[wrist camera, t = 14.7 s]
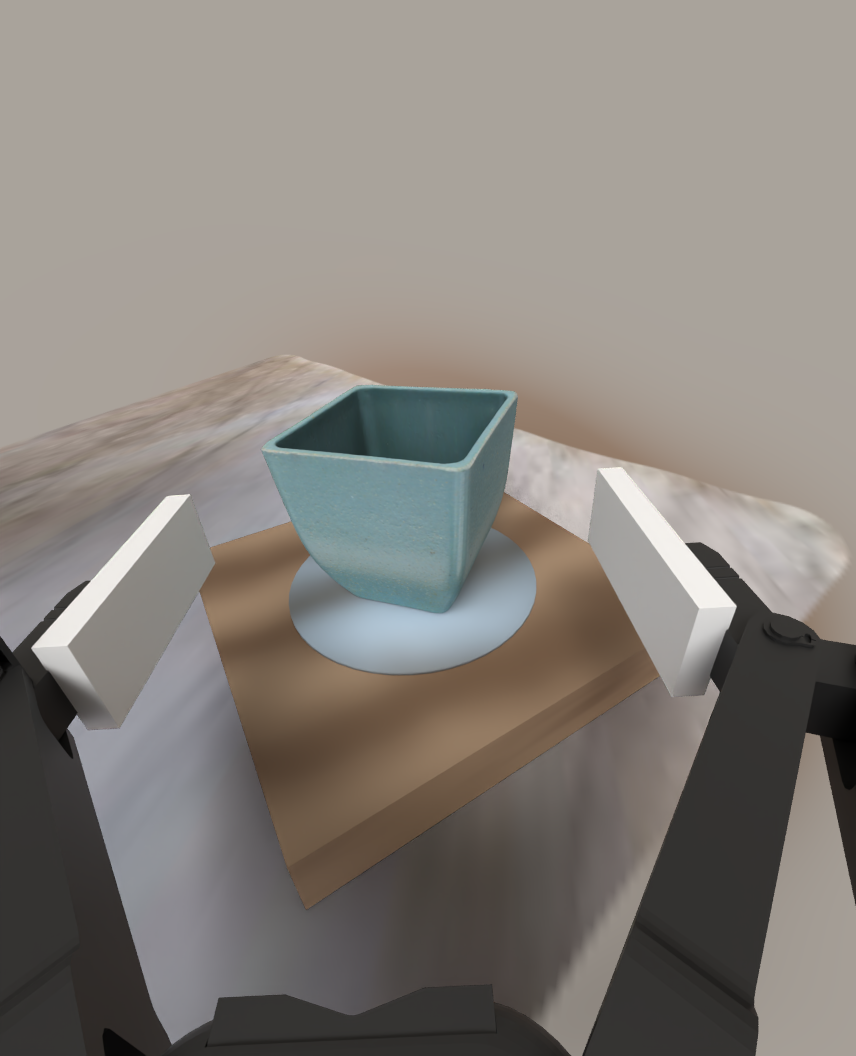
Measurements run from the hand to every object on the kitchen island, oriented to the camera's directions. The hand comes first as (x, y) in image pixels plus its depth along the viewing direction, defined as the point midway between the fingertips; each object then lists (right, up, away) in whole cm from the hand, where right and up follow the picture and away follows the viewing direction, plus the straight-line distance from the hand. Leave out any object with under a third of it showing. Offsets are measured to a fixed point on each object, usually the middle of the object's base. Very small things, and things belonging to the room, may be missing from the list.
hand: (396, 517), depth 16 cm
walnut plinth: (0, -6, +12) cm, 13 cm away
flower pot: (0, -3, +10) cm, 11 cm away
